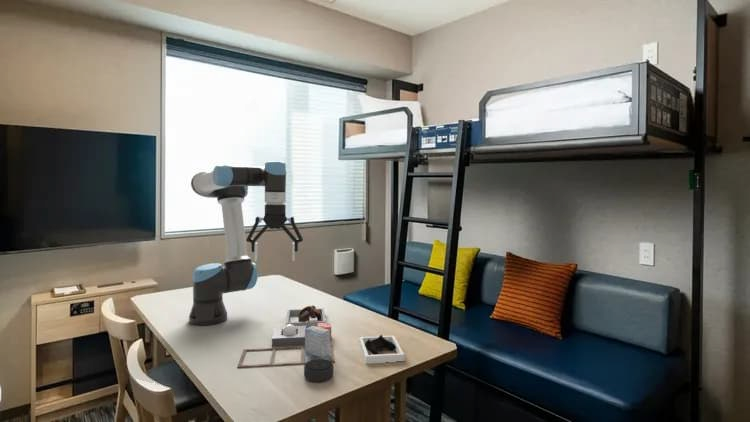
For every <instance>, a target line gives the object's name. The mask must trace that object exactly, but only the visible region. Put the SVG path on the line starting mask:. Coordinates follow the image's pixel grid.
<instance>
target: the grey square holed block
mask: <svg viewBox="0 0 750 422" xmlns="http://www.w3.org/2000/svg"><path fill="white" fill-rule="evenodd" d="M284 327H285V326H274V327H273V332H272V336H271V348H278V347H297V346H305V329H306V326H295V327H296V334H295V335H283V328H284Z"/></svg>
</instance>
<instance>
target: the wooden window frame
mask: <svg viewBox="0 0 750 422" xmlns="http://www.w3.org/2000/svg"><path fill="white" fill-rule="evenodd" d="M295 349H296V350H297V349H300V352H301V354H300V357H301V358H300V361H294V362H293V361H292V362H274V361H275V355H276V351H278V350H279V351H280V350H295ZM259 351H261V352H262V351H271V354H270V355H271V356H270V361H269V363H259V364H258V363H257V364H245V365H244V364H243V363H244V359H245V356H246V353H247V352H259ZM315 359H325V360H328V361H330V362H332V364H333V363H335V360H336V359H335V354H334V349H333V344H330V354H329V355H327V356H325V357H323V358H321V357H317V356H314V355H311V354H307V353H305V345H297V346H278V347H264V348H262V347H261V348H244V349H243V350H242V353H241V356H240V358H239V362H238V364H237V369H243V368H245V369H246V368H247V369H248V368H259V367H260V368H261V367H262V368H263V367H279V366H294V365H295V366H297V365H305V364H306V363H307V362H309V361H311V360H315Z"/></svg>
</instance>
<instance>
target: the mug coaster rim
mask: <svg viewBox="0 0 750 422" xmlns="http://www.w3.org/2000/svg"><path fill="white" fill-rule="evenodd" d="M302 309H303V308H299V309H298V308H297V309H296V308H295V309H293V308H292V309H287V311H286V318H285V326H286V325H288V324H292V325H294V326H306V329H307V328H309V327H311V326H316V327H318V323H327V321H326V314H325V313H326V312H325V308H323V307H321V308H318V307H317V308H316V309H317V310H318V311H319V312H320V315H321V317H322V321H315V320H314V321H310V322H309V321H306V322H298V321H294V322H292V321H290V317H291V316H293V317H294V316H296V317H298V314H299V312H300V311H301V310H302ZM308 313H309V312H308V310H307V311H305V312H304V313H303V314H302V315H301V316H304V315H306V314H308ZM299 315H300V314H299Z"/></svg>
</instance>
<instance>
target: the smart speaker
mask: <svg viewBox="0 0 750 422" xmlns="http://www.w3.org/2000/svg"><path fill="white" fill-rule="evenodd" d="M303 375H304V376H303V377H304V378H305V379H306V381H307V380H308V381H310V382H313V383H323V382H326V381H328V380H330V379H331V378H332V377H333V376H334V364H333V363H332V362H330V361H328V360H325V359H315V360H311V361H309V362H307V363H306V364H304V366H303Z"/></svg>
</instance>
